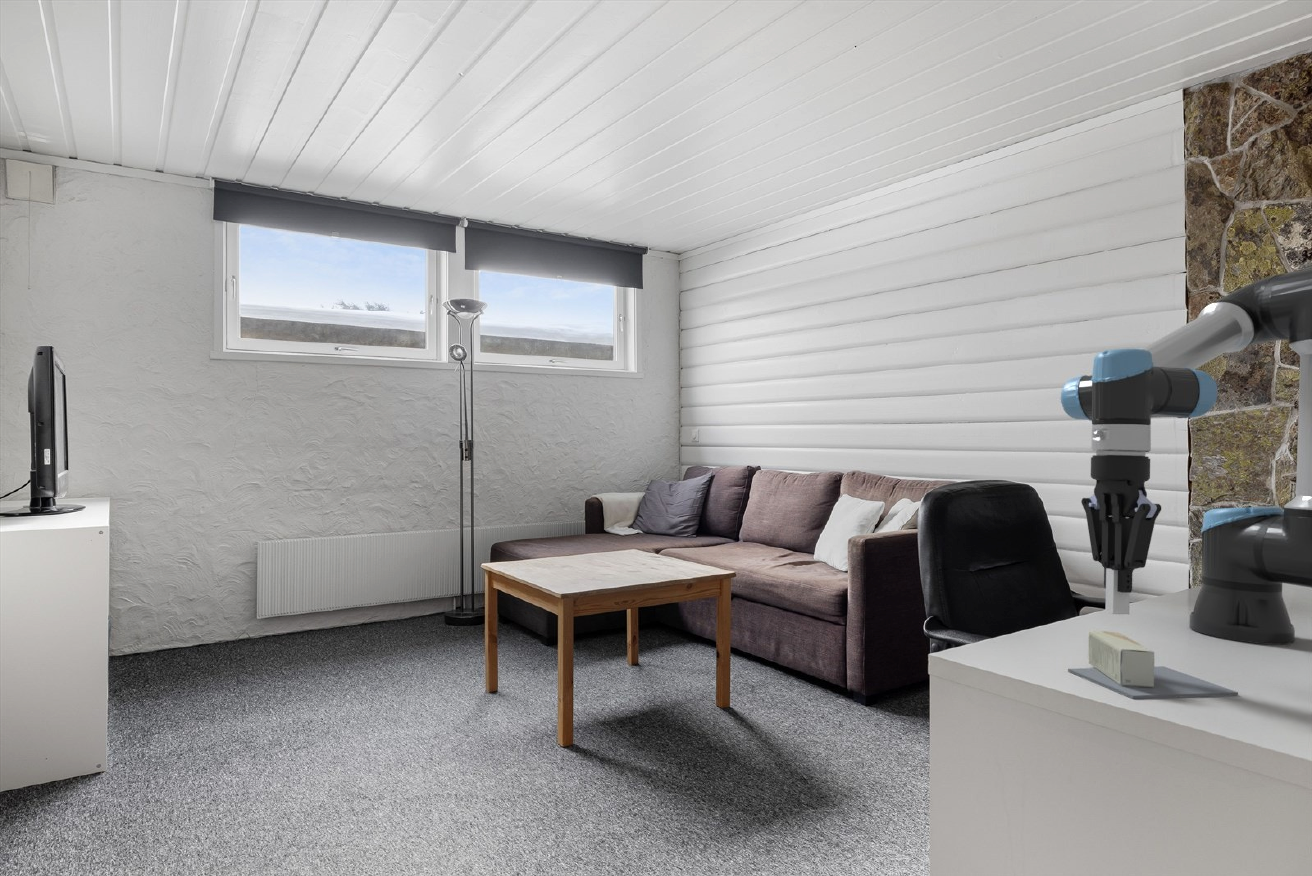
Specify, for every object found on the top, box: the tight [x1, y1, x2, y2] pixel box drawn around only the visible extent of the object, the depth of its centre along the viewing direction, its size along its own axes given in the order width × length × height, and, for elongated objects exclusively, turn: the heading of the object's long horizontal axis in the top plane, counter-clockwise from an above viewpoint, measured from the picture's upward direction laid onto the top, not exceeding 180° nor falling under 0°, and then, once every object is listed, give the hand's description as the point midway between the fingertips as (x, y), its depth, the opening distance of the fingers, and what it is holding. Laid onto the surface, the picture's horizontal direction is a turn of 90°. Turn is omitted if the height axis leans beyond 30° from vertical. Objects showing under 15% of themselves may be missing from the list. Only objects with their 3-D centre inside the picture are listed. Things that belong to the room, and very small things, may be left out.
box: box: [1087, 630, 1155, 687], centre depth 107 cm, size 5×4×11 cm
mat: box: [1067, 665, 1239, 700], centre depth 105 cm, size 16×12×1 cm
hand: (1117, 613), depth 111 cm, fingers closed
